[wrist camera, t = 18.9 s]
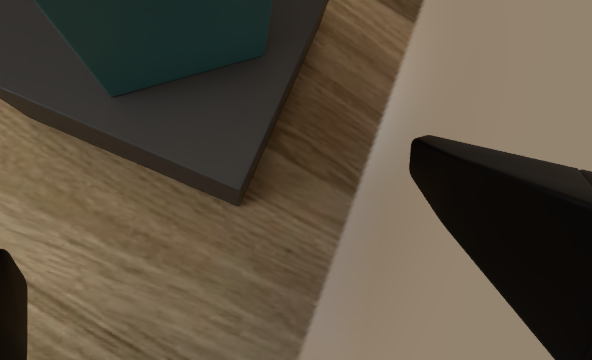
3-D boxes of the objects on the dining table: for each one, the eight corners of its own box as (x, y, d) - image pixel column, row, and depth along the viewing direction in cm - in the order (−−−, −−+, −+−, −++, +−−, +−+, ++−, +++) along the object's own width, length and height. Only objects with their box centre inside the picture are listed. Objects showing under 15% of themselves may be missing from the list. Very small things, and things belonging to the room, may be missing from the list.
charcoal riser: (319, 24, 21) (345, -44, 16) (238, 206, 19) (240, 191, 14) (132, -63, 21) (100, -160, 16) (27, 116, 19) (-46, 68, 14)
